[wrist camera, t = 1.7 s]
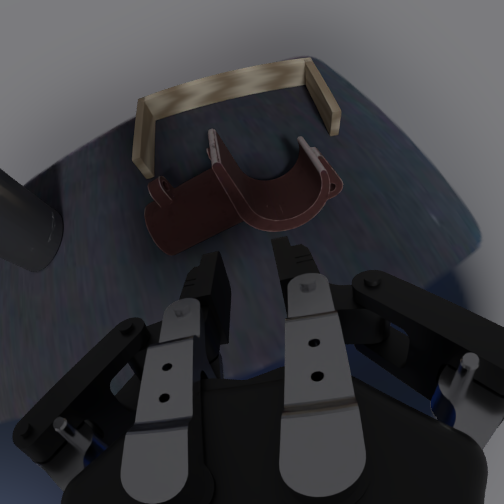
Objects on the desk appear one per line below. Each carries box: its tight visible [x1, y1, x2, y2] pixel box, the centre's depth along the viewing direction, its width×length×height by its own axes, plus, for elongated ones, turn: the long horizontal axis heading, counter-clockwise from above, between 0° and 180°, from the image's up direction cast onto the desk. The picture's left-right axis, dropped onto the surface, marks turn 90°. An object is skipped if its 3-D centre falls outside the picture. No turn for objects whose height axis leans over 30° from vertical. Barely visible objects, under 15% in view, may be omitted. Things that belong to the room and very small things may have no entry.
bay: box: [132, 58, 341, 179], centre depth 32 cm, size 23×11×4 cm, turn 100°
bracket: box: [144, 129, 343, 255], centre depth 26 cm, size 6×17×10 cm, turn 109°
